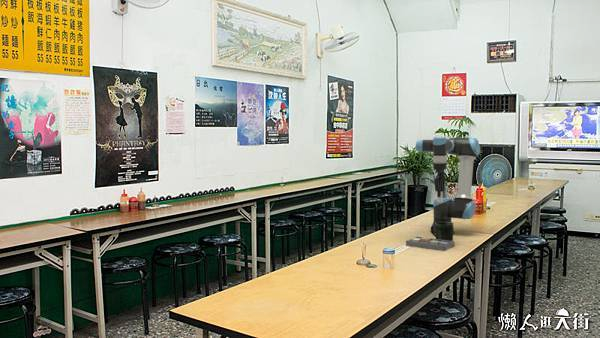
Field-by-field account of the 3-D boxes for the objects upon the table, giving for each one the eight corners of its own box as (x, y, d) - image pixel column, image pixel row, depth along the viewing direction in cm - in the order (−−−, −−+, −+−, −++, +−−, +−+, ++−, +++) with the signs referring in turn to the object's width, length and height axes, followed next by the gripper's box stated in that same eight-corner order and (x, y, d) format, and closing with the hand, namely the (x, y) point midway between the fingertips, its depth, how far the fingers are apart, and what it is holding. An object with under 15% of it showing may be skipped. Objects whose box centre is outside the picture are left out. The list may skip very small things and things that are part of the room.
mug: (448, 245, 313) (448, 225, 312) (426, 241, 323) (426, 222, 322) (456, 241, 321) (456, 222, 320) (435, 239, 330) (435, 220, 330)
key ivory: (415, 241, 316) (415, 237, 316) (421, 242, 313) (421, 238, 313) (411, 243, 312) (411, 239, 312) (418, 244, 310) (418, 240, 309)
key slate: (442, 245, 305) (442, 241, 304) (449, 246, 302) (449, 242, 302) (438, 246, 301) (438, 242, 301) (445, 247, 298) (445, 243, 298)
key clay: (423, 241, 312) (423, 237, 312) (430, 242, 309) (430, 238, 309) (420, 242, 309) (420, 238, 308) (427, 243, 306) (427, 239, 306)
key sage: (432, 244, 308) (432, 240, 308) (439, 245, 305) (439, 241, 305) (429, 245, 305) (429, 241, 305) (436, 246, 302) (436, 242, 302)
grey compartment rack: (417, 242, 320) (417, 236, 320) (454, 247, 305) (454, 241, 304) (406, 247, 310) (406, 240, 309) (444, 252, 294) (444, 245, 294)
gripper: (438, 161, 314) (438, 200, 316) (428, 163, 304) (429, 203, 306) (450, 162, 309) (450, 201, 311) (440, 163, 299) (441, 204, 301)
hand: (439, 202), depth 309 cm, fingers closed
